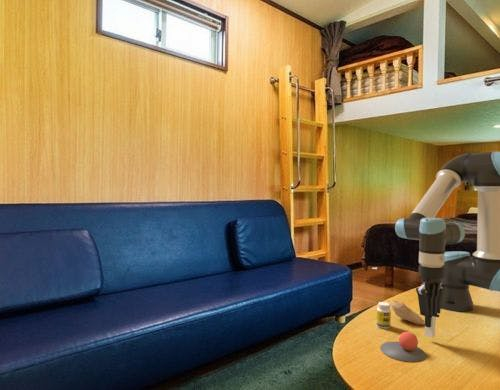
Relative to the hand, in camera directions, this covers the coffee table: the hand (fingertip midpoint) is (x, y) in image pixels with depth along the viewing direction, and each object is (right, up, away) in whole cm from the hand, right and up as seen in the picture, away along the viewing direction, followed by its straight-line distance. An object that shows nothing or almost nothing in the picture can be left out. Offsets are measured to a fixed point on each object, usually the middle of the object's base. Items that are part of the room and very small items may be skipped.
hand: (429, 335), depth 116 cm
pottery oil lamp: (0, -2, +17) cm, 17 cm away
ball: (-10, +1, -6) cm, 12 cm away
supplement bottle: (-11, -2, +12) cm, 16 cm away
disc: (-12, -2, -7) cm, 14 cm away
